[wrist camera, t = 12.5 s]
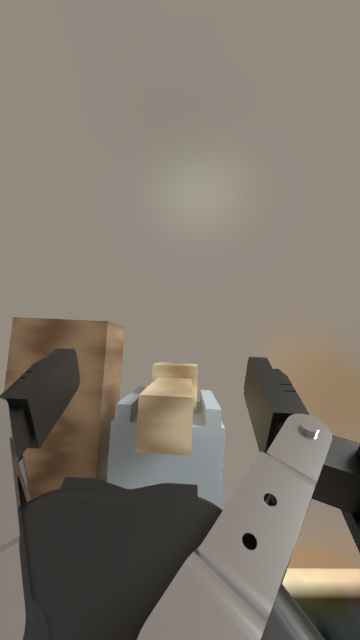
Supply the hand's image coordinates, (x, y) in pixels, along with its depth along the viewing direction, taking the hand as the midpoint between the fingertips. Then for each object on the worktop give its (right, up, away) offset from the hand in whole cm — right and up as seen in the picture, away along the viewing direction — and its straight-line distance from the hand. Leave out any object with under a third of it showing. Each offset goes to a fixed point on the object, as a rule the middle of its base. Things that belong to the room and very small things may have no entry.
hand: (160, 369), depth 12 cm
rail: (0, -6, +10) cm, 12 cm away
